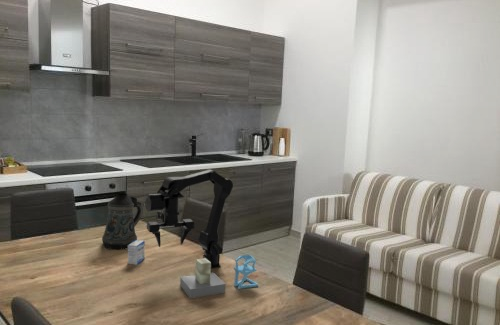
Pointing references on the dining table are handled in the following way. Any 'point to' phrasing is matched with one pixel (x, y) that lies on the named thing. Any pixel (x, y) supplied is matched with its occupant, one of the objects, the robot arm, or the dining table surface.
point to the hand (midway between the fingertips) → (170, 245)
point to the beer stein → (121, 222)
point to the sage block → (203, 270)
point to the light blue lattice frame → (245, 271)
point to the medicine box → (136, 252)
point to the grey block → (202, 286)
